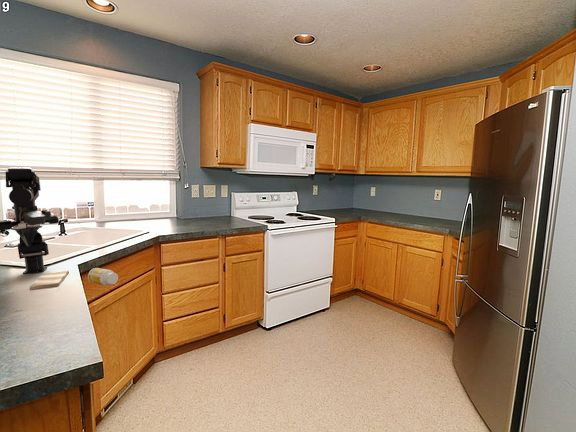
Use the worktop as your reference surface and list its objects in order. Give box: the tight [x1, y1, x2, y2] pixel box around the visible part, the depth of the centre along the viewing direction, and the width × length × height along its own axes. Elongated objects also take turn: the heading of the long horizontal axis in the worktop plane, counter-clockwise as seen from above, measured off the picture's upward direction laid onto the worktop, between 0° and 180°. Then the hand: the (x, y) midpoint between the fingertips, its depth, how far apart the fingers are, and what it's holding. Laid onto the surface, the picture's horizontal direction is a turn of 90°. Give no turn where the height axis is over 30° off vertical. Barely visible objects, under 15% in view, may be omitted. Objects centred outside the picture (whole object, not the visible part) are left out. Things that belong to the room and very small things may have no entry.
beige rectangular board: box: [29, 270, 70, 290], centre depth 114 cm, size 16×8×1 cm, turn 25°
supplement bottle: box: [87, 267, 119, 286], centre depth 109 cm, size 5×5×10 cm
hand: (29, 246), depth 112 cm, fingers closed
